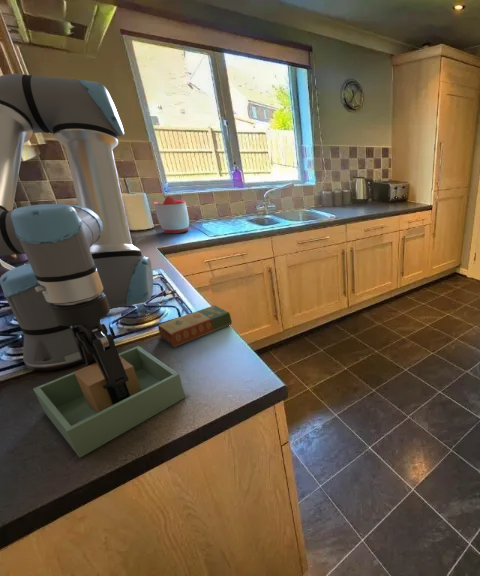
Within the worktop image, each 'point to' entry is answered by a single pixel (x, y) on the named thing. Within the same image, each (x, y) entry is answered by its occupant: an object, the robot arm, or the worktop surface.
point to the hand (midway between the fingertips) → (115, 400)
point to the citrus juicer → (172, 215)
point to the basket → (117, 418)
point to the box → (94, 381)
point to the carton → (194, 325)
